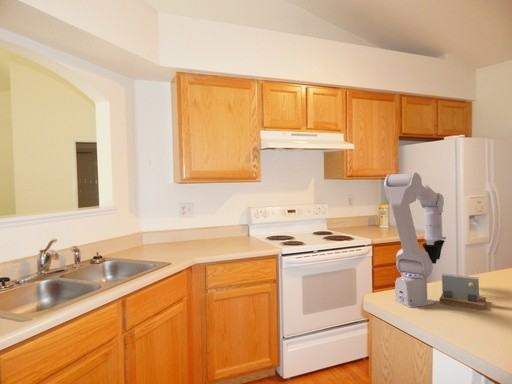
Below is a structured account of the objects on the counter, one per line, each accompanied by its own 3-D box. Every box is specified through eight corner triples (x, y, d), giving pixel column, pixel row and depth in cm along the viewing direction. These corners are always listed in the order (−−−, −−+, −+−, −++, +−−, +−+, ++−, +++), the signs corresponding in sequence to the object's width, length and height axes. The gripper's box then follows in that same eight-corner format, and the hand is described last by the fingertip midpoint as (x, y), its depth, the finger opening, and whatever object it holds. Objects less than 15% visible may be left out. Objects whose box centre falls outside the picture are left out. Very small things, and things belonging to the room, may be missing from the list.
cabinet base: (484, 310, 97) (484, 305, 97) (439, 302, 104) (439, 298, 104) (485, 301, 104) (485, 296, 104) (443, 295, 111) (443, 290, 111)
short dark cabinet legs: (477, 302, 100) (476, 296, 100) (443, 297, 105) (443, 291, 105) (478, 297, 104) (478, 291, 104) (445, 292, 109) (445, 287, 109)
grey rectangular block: (478, 302, 100) (477, 280, 100) (442, 296, 106) (441, 275, 106) (479, 299, 102) (478, 277, 102) (443, 293, 109) (442, 273, 109)
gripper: (442, 227, 110) (443, 266, 110) (448, 223, 121) (449, 258, 122) (419, 226, 114) (421, 264, 115) (427, 222, 126) (429, 256, 126)
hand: (434, 261), depth 118 cm, fingers open, 7 cm apart
